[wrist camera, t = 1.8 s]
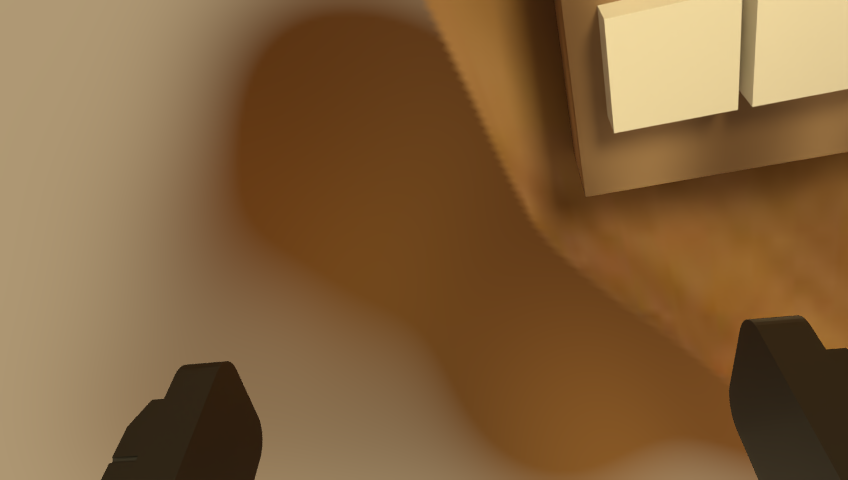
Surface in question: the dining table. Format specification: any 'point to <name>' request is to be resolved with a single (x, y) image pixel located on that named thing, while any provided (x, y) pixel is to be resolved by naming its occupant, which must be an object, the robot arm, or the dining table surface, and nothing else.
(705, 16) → the tile
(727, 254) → the dining table surface
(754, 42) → the tile
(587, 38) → the board
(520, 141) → the dining table surface
